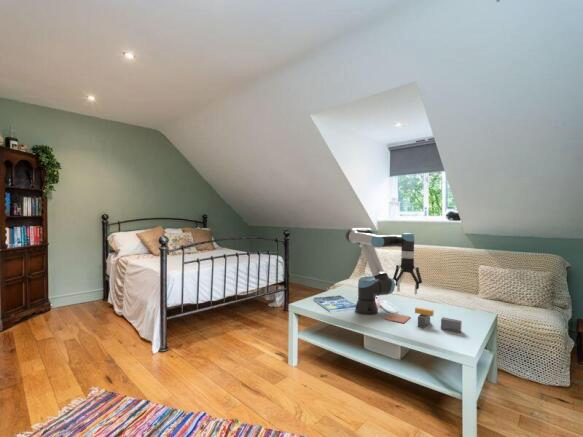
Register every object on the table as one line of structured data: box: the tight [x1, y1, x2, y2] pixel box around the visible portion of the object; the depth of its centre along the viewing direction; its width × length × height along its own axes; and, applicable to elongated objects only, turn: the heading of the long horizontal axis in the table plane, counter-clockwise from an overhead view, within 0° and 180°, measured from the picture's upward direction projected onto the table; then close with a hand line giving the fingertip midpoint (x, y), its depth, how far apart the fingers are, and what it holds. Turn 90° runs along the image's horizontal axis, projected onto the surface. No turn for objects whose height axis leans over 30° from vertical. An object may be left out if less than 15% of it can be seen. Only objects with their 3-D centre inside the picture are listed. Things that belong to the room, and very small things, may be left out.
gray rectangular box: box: [440, 316, 463, 334], centre depth 178 cm, size 10×4×6 cm, turn 52°
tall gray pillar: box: [417, 314, 431, 328], centre depth 188 cm, size 4×12×6 cm, turn 142°
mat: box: [384, 312, 412, 324], centre depth 198 cm, size 12×14×1 cm
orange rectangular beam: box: [414, 306, 435, 317], centre depth 188 cm, size 10×3×3 cm, turn 52°
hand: (407, 292), depth 194 cm, fingers open, 10 cm apart
